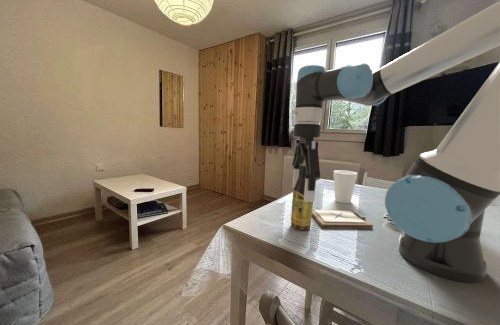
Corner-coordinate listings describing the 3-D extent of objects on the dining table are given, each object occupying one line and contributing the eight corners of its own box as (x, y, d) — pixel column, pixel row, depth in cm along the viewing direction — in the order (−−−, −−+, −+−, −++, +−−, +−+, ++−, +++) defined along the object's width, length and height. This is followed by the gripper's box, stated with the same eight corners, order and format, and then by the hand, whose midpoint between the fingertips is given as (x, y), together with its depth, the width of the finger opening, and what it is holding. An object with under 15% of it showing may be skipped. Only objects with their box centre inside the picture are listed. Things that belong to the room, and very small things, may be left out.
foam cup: (358, 204, 88) (361, 174, 87) (336, 204, 89) (339, 173, 87) (348, 198, 98) (351, 170, 96) (328, 197, 98) (330, 169, 96)
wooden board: (372, 228, 66) (373, 222, 66) (322, 228, 65) (322, 221, 65) (351, 213, 79) (352, 207, 78) (309, 212, 78) (309, 206, 78)
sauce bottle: (286, 224, 68) (290, 163, 65) (303, 221, 70) (306, 162, 67) (298, 233, 61) (302, 166, 59) (315, 230, 64) (320, 165, 61)
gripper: (286, 124, 73) (282, 183, 77) (307, 121, 49) (301, 208, 52) (307, 125, 74) (303, 184, 77) (339, 122, 49) (330, 209, 52)
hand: (302, 194), depth 64 cm, fingers open, 13 cm apart
